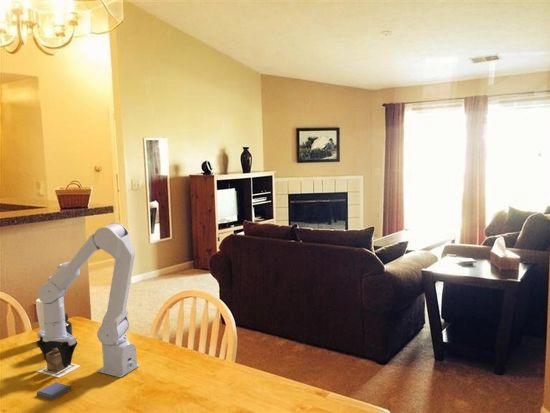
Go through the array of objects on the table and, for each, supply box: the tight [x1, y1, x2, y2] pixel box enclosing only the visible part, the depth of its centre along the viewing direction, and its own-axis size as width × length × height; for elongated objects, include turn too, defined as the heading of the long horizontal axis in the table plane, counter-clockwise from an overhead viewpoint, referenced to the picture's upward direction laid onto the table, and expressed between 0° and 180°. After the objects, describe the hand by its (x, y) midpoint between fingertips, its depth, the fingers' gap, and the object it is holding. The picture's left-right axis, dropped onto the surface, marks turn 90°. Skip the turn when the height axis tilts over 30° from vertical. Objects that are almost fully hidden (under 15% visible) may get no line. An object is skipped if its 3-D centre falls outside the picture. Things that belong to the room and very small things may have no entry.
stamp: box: [46, 348, 68, 373], centre depth 140 cm, size 4×4×6 cm
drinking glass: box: [35, 298, 45, 331], centre depth 162 cm, size 7×7×15 cm
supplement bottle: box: [54, 312, 74, 348], centre depth 154 cm, size 7×7×12 cm
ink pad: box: [36, 381, 72, 401], centre depth 127 cm, size 6×6×1 cm
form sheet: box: [35, 362, 82, 379], centre depth 141 cm, size 10×8×1 cm
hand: (58, 363), depth 141 cm, fingers open, 7 cm apart
